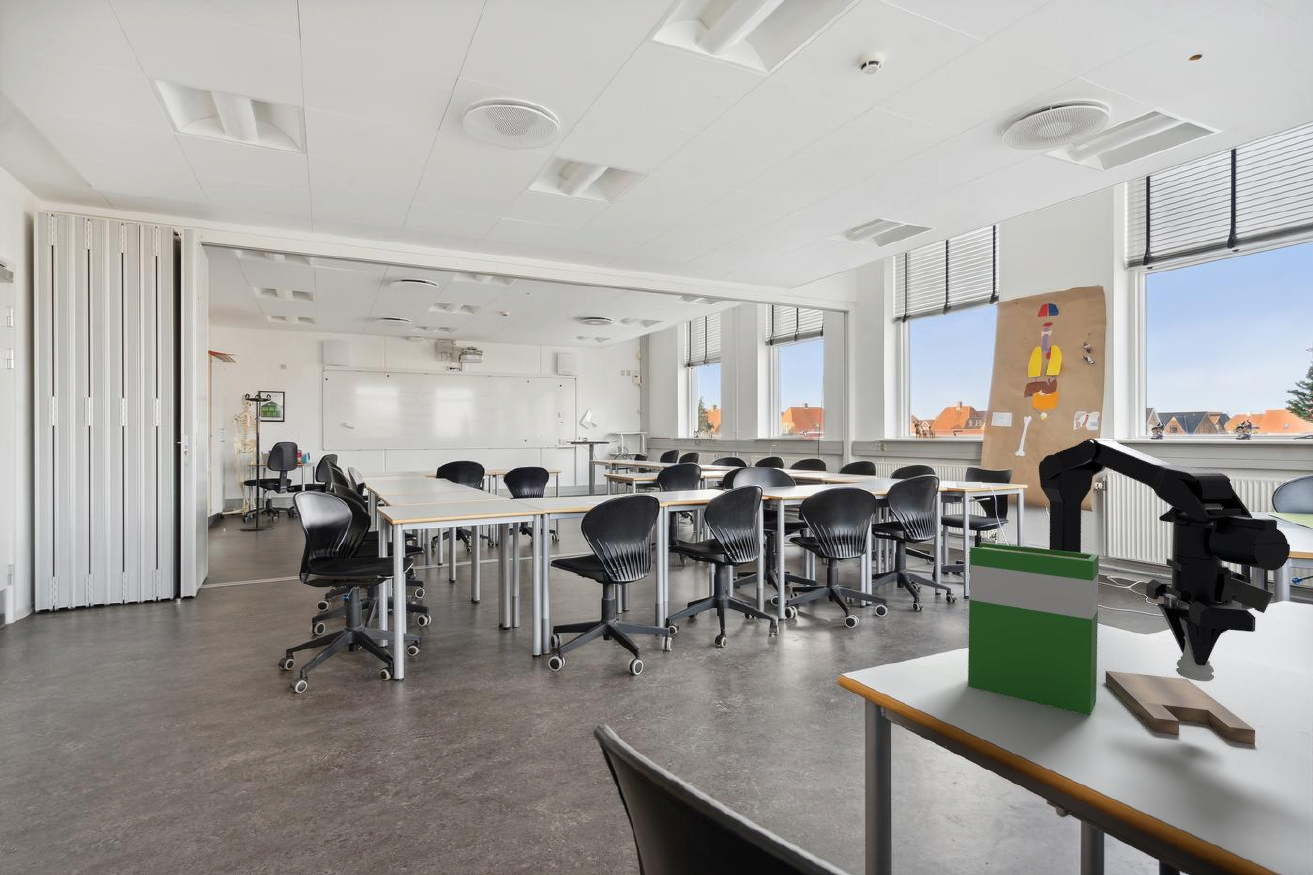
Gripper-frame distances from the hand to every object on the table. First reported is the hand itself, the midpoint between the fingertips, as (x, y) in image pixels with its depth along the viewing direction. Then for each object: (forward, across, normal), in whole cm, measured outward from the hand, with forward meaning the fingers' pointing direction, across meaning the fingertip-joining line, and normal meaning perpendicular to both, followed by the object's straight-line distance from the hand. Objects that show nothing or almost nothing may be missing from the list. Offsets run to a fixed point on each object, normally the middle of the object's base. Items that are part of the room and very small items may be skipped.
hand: (1194, 660), depth 97 cm
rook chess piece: (+2, 0, 0) cm, 3 cm away
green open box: (+10, +7, +20) cm, 23 cm away
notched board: (+10, +7, 0) cm, 12 cm away
